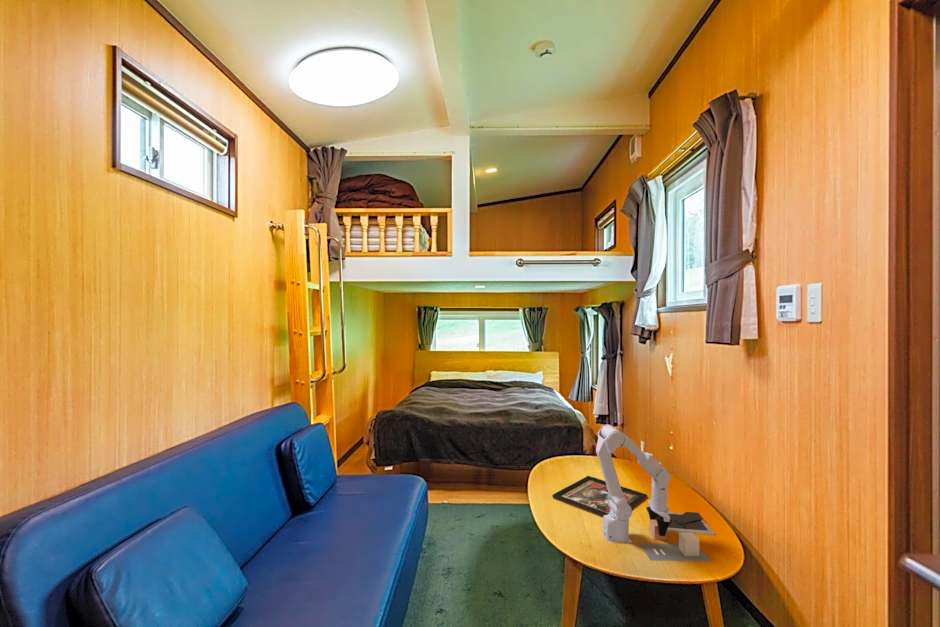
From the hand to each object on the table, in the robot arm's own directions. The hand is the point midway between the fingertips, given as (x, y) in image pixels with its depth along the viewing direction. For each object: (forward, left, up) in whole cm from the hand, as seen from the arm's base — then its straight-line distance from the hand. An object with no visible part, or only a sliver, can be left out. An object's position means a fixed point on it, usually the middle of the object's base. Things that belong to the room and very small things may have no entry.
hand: (658, 530), depth 170 cm
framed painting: (-12, +35, -3) cm, 37 cm away
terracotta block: (0, 0, -3) cm, 3 cm away
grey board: (+1, -11, -3) cm, 11 cm away
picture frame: (+14, +11, -4) cm, 18 cm away
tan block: (+6, -11, -2) cm, 13 cm away
